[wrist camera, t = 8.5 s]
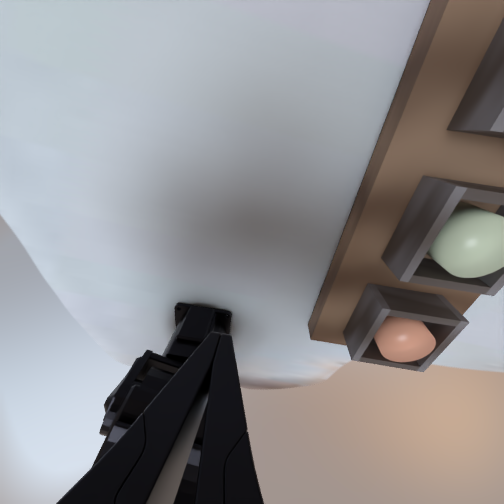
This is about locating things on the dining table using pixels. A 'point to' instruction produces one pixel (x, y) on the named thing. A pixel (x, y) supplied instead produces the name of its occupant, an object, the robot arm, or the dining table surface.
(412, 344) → the terracotta button
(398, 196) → the button panel
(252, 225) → the dining table surface
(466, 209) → the sage button
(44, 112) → the dining table surface
